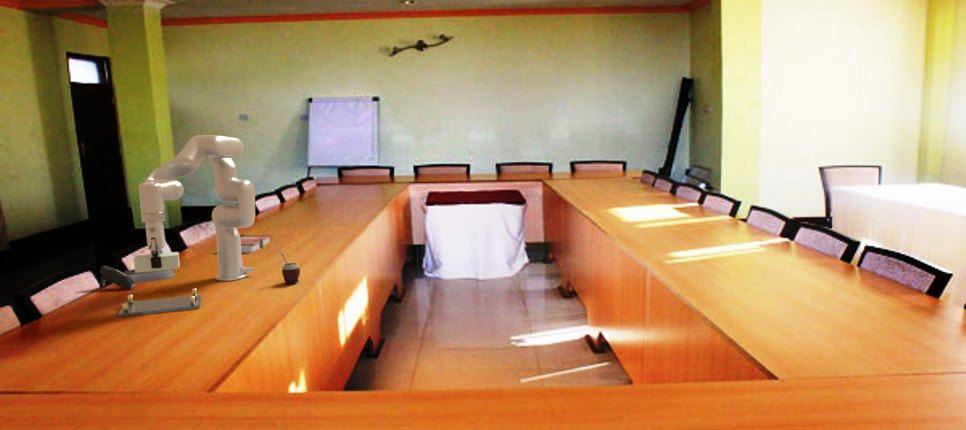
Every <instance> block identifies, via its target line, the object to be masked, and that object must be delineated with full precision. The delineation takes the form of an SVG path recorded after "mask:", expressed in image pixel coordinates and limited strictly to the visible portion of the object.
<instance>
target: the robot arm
mask: <svg viewBox="0 0 966 430" xmlns="http://www.w3.org/2000/svg"><path fill="white" fill-rule="evenodd" d="M244 147H245V146H244V144H243V142H242V140H241V139H240V138H238V137H232V136H225V135H224V136H223V135H219V134H218V135H217V134H197V135H194V136H193V137H191V138H190V139H189V140H188V142H187V143H186V144H184V147H183V148H182V149H181V150H180V152H178V154H177V155H176V156H175V157H174V158H172V159H170V160H169V161H167V162H165V163H163V164H161V165H159V166H158V167H156V168H155V169H154V170H153V171H152V172H151V173H150V174H149V175H148V176H147V178H146V179H145V181H144V182H142V183H140V184H139V185H138V195H139V206H140V219H141V223H145V232H146V233H145V235H146V244H147V247H148V248H147V249H148V250H150V254H151V267H152V268H161V267H162V265H161V257H160V254H161V253H163V249H164V248H165V247H166V245H167V244H166V236H165V228H164V221H166V213H165V203H164V202H165V201H176V200H179V199H180V198H181V197H182V196H183V195H184V192H185V189H184V186H183V184H182V182H180V181H178V180H176V179H179V178H184V177H186V176H189V175H191V174H193V173H195V172H197V170H198V168H199V167H200V165H201V164H202V163H203V162H204V160H205V159H206V158H208V159H209V160H210V162H211V163H212V165H213V167H214V172H215V173H214V176H215V177H214V180H215V182H214V183H215V185H214V186H215V196H216V198H217V199H218V201H221V202H230V203H231V202H234V203H235V202H237V203H238V204H219V205H217V206H215V207H214V208H213V210H212V212H211V219H212V224H213V226H214V231H215V237H216V247H217V248H216V250H217V251H216V252H217V263H218V273H217V274H216V275H215V279H216V280H217V281H222V282H223V281H224V282H225V281H226V282H227V281H228V282H229V281H237V280H242V279H245V278H247V276H248V273H253V272H255V270H254V269H255V267H254V266H253V267H251V266H246V267H245V266H244V264H243V256H242V255H243V253H241V239H240V235H241V234H240V232H239V230H238V229H239V228H243V229H244V228H245V229H246V228H250V227H252V226H253V224H254V222H255V219H256V191H255V187H254V184H253V183H252V182H251V181H250V180H248V179H245V178H244V179H243V178H238V171H237V166H236V163H235V161H234V160H233V159H239V158H240V157H241V156H242V155H243V154H244V151H245V150H244V149H245V148H244ZM237 228H238V229H237Z"/></svg>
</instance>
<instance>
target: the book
mask: <svg viewBox="0 0 966 430" xmlns="http://www.w3.org/2000/svg"><path fill="white" fill-rule="evenodd" d="M270 238H271V236H270V234H269V235H263V234H262V235H246V234H240V239H241V253H242V254H253V252H254V253H255V252H257V251H259V250H261V249H263V248H264V247H266V246H267V245H268V244H267V243H269V242H270ZM266 244H267V245H266ZM269 244H270V243H269ZM265 245H266V246H265ZM263 246H264V247H263ZM258 249H259V250H258ZM256 250H257V251H256Z"/></svg>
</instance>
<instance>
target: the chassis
mask: <svg viewBox="0 0 966 430" xmlns="http://www.w3.org/2000/svg"><path fill="white" fill-rule="evenodd" d="M191 293H192V295H183V296H182V295H181V296H175V297H174V296H173V297H164V298H155V299H144V300H134V298H133V294H128V295H127V301H125V302H124V303H122V304H121V305H122V307H121V308H120V310H119V311H118V313H117V318H124V317H126V318H128V317H134V316H135V317H136V316H144V315H151V314H152V315H153V314H163V313H173V312H182V311H187V310H188V311H189V310H190V311H191V310H198V309H200V308H201V303H202V299H203V298H202V297H203V296H202V294H198V291H197V287H196V288H195V287H194V288H192V289H191Z"/></svg>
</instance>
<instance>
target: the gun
mask: <svg viewBox="0 0 966 430" xmlns="http://www.w3.org/2000/svg"><path fill="white" fill-rule="evenodd" d="M99 273H100V274H101V275H100V280H99V281H100V283H99V284H100V287H101V288H102V289H105V288H106V282H108V283H110V284H112V283H113V284H114V285H116V286H117V287H120V288H121V289H123V290H126V291H127V290H132V289H134V288H136V285H135V283H134V280H132V279H131V278H130V277H129V276H127V275H126V274H124V272H122V271H121V270H118V269H116V268H114V267H110V266H108V265H101V266H100V269H99Z"/></svg>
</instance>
